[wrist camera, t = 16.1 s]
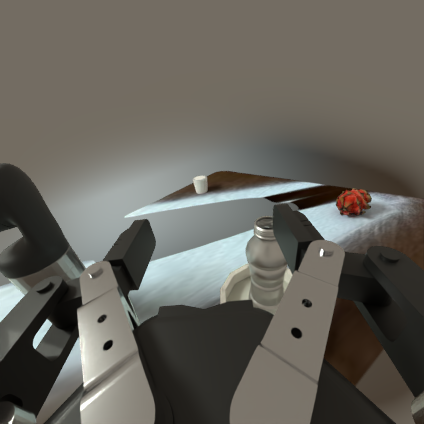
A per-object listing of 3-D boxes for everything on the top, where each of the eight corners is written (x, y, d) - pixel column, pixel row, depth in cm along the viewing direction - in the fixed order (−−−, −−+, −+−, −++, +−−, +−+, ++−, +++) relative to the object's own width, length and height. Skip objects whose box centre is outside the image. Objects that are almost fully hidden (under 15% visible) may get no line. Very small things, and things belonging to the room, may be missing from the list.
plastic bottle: (285, 328, 32) (296, 239, 22) (246, 319, 35) (240, 235, 25) (284, 296, 38) (292, 211, 28) (250, 290, 40) (247, 210, 30)
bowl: (207, 299, 40) (205, 287, 38) (266, 264, 47) (266, 252, 45) (262, 386, 27) (262, 375, 25) (334, 321, 33) (339, 307, 31)
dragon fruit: (361, 209, 63) (341, 227, 60) (342, 191, 66) (321, 207, 62) (385, 197, 56) (363, 217, 52) (362, 177, 58) (339, 195, 54)
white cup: (209, 187, 94) (207, 174, 91) (208, 193, 89) (206, 179, 85) (195, 189, 95) (193, 176, 91) (194, 194, 89) (191, 181, 86)
